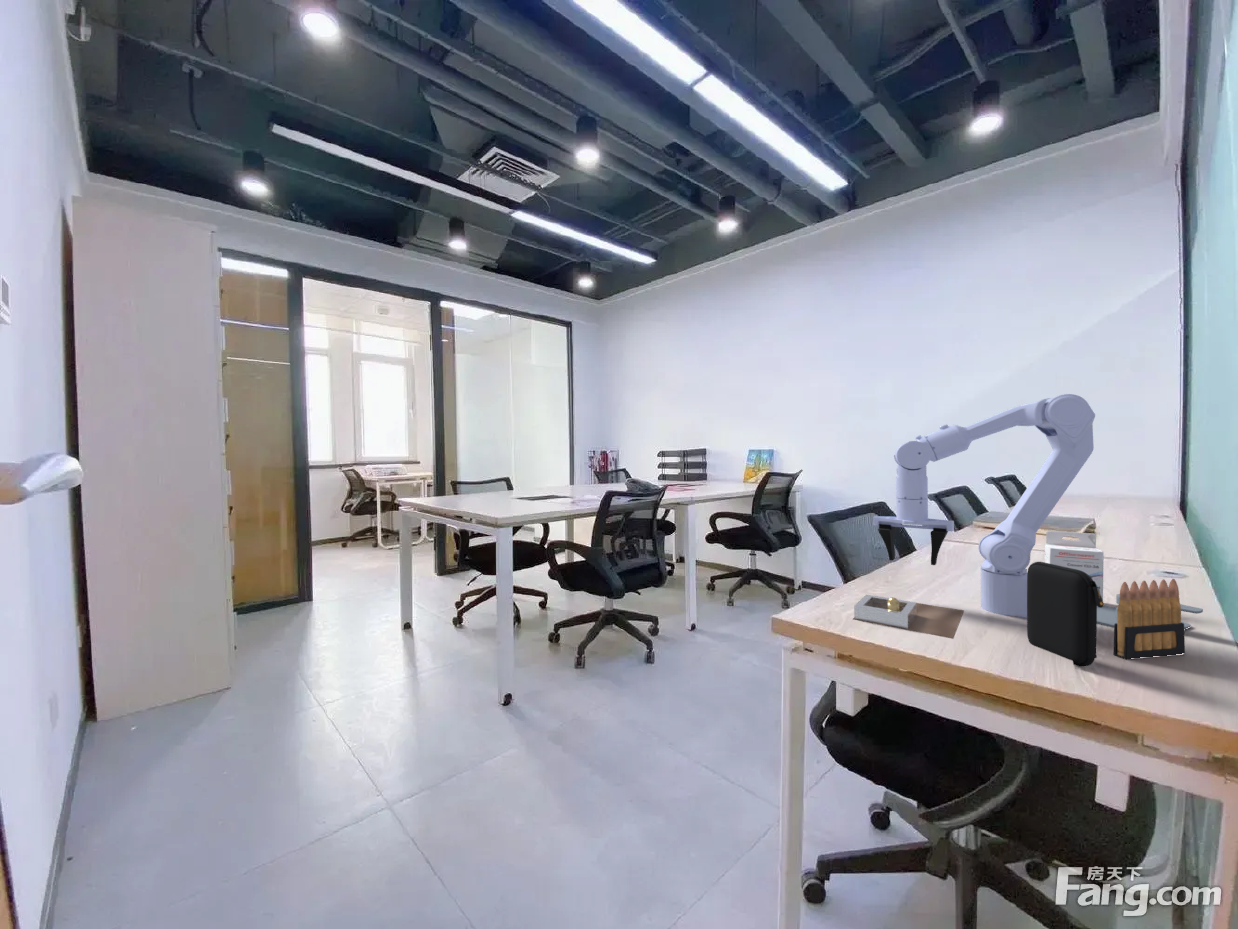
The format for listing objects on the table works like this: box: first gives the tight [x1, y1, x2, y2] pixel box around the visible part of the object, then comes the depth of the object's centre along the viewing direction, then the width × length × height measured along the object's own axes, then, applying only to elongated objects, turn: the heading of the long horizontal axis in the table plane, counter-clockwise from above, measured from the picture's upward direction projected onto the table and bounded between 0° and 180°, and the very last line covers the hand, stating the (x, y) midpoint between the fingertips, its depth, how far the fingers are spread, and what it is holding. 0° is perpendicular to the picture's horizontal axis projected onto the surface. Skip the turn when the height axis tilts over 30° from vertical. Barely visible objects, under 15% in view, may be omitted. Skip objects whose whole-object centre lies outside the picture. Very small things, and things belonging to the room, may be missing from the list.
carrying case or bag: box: [1026, 561, 1105, 668], centre depth 76 cm, size 11×3×15 cm, turn 9°
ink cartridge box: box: [1044, 530, 1105, 607], centre depth 103 cm, size 9×5×15 cm, turn 58°
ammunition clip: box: [1113, 578, 1186, 660], centre depth 77 cm, size 11×2×12 cm, turn 96°
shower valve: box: [1097, 593, 1204, 629], centre depth 89 cm, size 12×6×15 cm
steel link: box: [853, 594, 918, 629], centre depth 94 cm, size 9×9×2 cm
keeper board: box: [852, 602, 965, 639], centre depth 95 cm, size 16×18×1 cm
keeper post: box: [887, 597, 899, 611], centre depth 93 cm, size 2×2×4 cm
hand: (912, 561), depth 103 cm, fingers open, 7 cm apart
